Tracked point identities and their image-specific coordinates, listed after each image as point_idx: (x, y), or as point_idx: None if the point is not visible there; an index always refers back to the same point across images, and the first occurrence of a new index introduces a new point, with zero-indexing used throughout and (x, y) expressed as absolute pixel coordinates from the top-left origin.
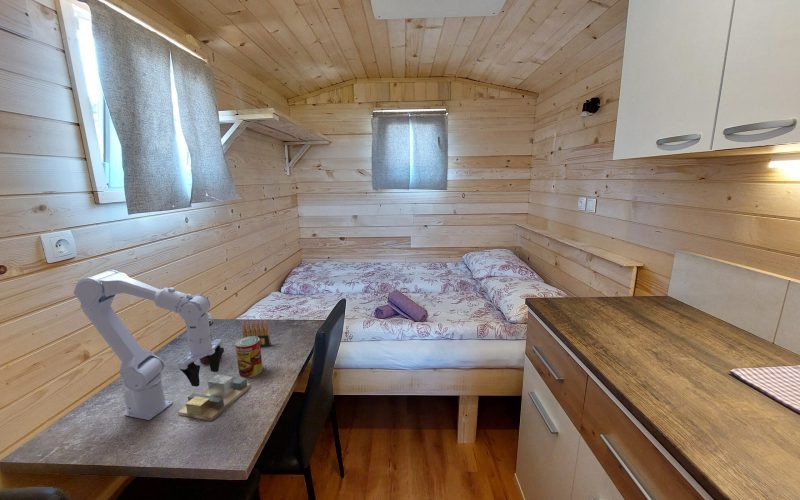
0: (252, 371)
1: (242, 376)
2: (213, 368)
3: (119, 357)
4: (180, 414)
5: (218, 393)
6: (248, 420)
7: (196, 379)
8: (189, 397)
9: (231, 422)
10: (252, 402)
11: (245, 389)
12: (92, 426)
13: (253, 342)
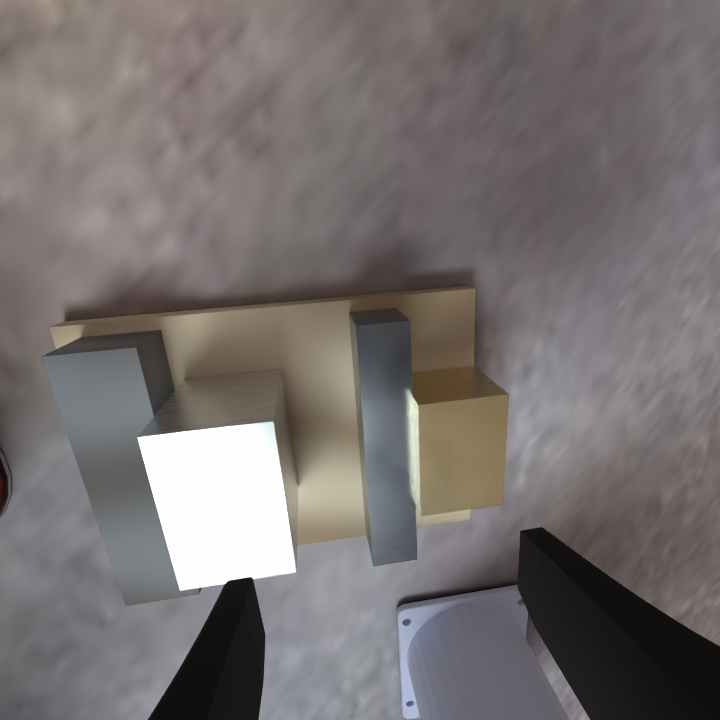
0: None
1: (6, 475)
2: (254, 653)
3: None
4: None
5: (288, 433)
6: (404, 6)
7: (635, 595)
8: (416, 548)
9: (451, 136)
10: (218, 145)
11: (125, 318)
12: (583, 714)
13: None
